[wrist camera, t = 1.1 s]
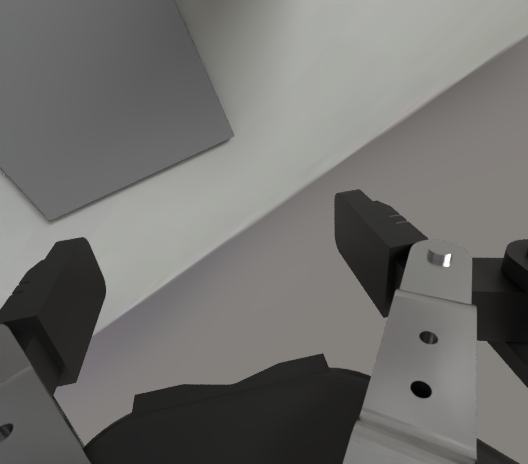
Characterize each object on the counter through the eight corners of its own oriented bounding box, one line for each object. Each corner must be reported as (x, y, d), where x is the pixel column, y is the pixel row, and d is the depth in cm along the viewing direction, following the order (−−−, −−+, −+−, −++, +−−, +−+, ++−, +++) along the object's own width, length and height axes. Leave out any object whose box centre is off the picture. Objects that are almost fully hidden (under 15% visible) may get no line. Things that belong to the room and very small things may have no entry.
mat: (-153, -10, 21) (-164, -11, 21) (112, -139, 21) (110, -144, 20) (52, 216, 32) (49, 221, 31) (233, 133, 31) (234, 136, 31)
